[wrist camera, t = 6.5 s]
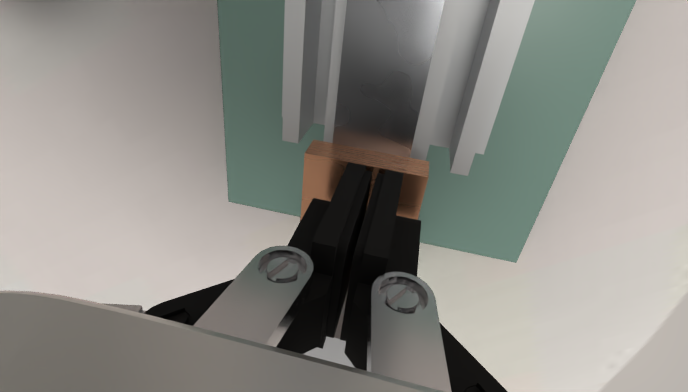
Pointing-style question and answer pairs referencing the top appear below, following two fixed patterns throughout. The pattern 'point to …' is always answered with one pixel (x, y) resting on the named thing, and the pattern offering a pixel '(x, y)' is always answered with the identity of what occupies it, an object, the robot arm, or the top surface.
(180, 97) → the top surface
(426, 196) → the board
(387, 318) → the robot arm
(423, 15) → the lever
